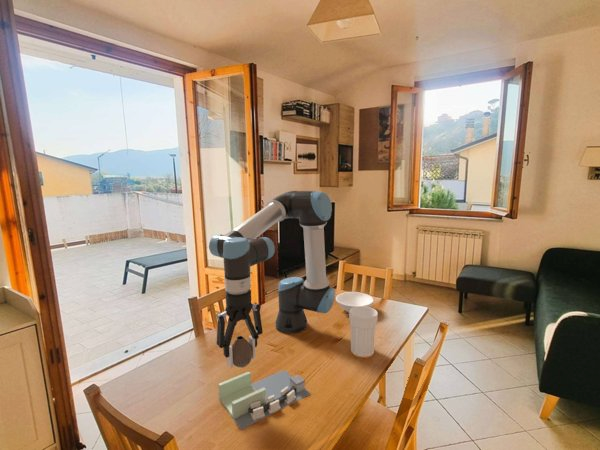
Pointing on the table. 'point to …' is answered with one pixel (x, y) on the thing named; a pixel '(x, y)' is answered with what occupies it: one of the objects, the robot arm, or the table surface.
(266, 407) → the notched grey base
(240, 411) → the holder
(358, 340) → the cup
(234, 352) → the vase
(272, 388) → the board
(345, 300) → the bowl
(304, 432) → the table surface
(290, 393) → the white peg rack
